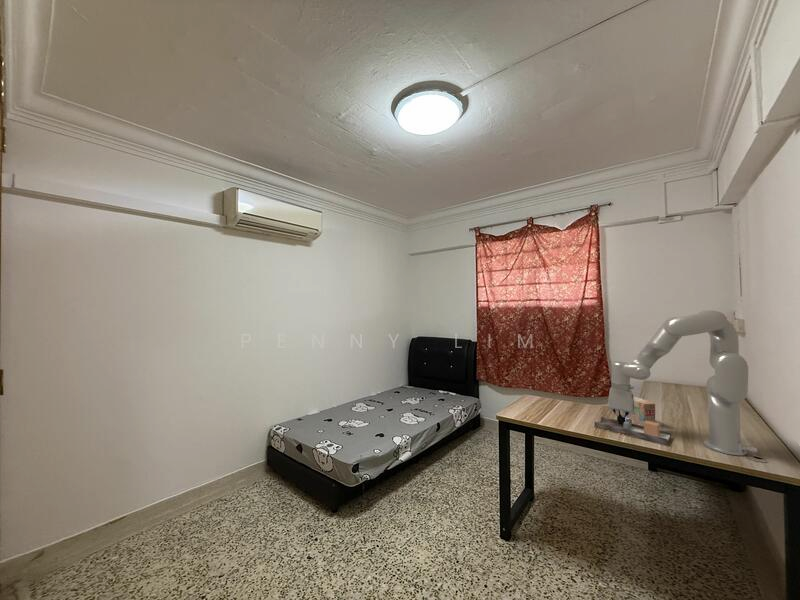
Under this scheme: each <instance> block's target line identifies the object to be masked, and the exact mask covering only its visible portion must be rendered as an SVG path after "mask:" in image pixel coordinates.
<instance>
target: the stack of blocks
mask: <svg viewBox="0 0 800 600" xmlns="http://www.w3.org/2000/svg"><path fill="white" fill-rule="evenodd" d="M633 397H634V413H635V414H634V415H627V416H625V417H627V418H629V419H631V420H633V421H634V422H636V423H638V424H640V425H642V426H644V422H645V421H646V420H647V421H652V422H656V403H654V402H651V401H650V400H647V399H643V398H640V397H637V396H633ZM620 414H621V415H622V410H620ZM638 424H637V425H638Z"/></svg>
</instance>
